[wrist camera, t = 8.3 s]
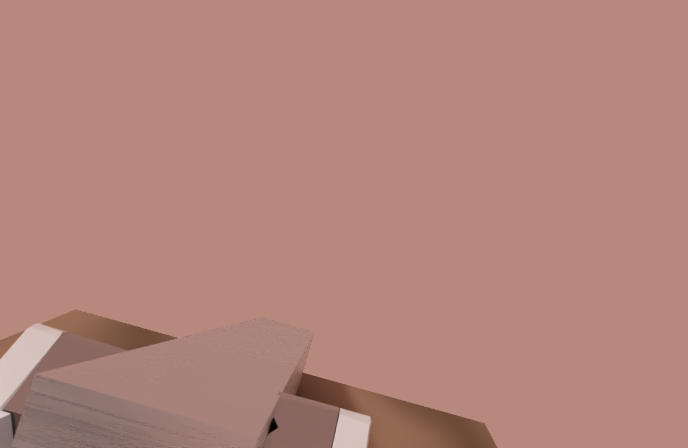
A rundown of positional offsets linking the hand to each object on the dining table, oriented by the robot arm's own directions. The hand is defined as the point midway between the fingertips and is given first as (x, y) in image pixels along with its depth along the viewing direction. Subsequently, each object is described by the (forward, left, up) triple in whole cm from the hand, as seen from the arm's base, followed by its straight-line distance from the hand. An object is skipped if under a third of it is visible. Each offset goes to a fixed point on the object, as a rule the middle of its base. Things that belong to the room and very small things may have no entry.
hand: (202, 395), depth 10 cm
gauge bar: (0, +7, -3) cm, 8 cm away
